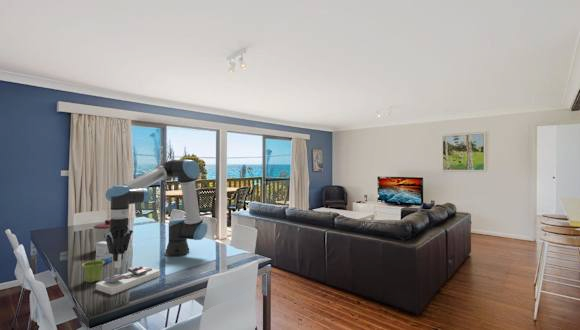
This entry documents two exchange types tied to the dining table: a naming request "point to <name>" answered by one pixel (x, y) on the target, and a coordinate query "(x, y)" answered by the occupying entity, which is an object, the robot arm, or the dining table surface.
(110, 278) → the slate rocker
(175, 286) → the dining table surface
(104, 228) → the canister
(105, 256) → the ink box
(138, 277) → the power strip
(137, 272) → the charcoal rocker
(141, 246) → the dining table surface
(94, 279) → the plant pot
